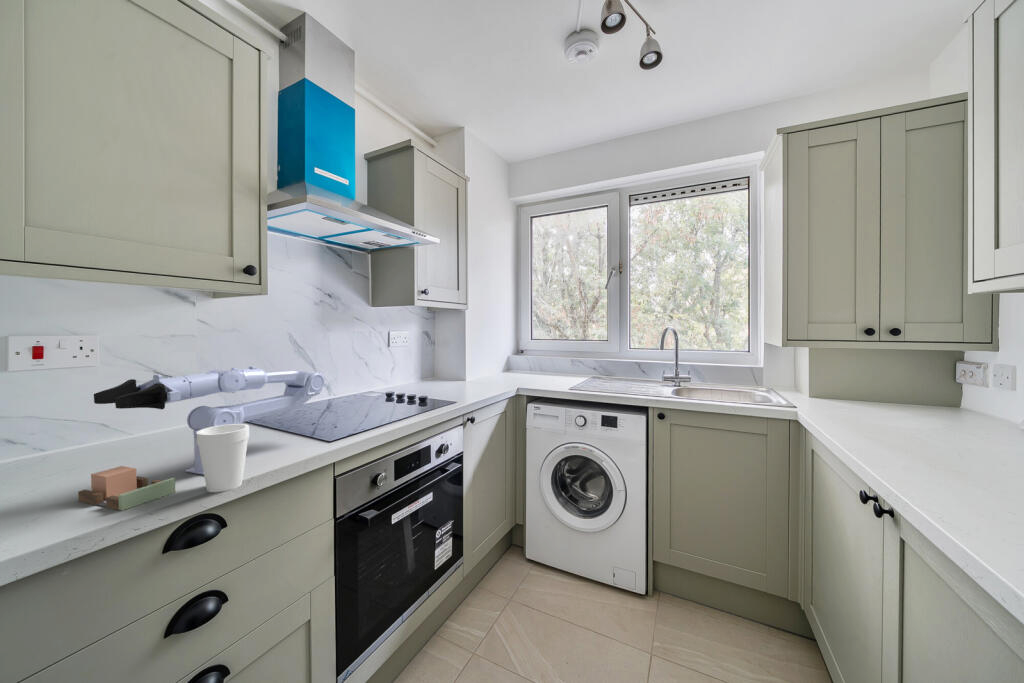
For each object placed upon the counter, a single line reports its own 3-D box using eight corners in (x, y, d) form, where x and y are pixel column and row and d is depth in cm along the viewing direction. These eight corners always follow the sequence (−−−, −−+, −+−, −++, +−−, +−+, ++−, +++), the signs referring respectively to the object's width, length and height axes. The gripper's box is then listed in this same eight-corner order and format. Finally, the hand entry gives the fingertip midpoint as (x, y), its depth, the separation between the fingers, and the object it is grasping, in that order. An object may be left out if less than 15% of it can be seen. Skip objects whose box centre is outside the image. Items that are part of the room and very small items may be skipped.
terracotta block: (122, 488, 84) (121, 466, 84) (136, 491, 83) (136, 468, 83) (91, 497, 80) (91, 474, 80) (106, 500, 78) (105, 476, 78)
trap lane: (133, 484, 86) (133, 471, 86) (175, 492, 82) (175, 478, 82) (78, 501, 78) (78, 486, 78) (122, 510, 74) (121, 495, 74)
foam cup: (259, 478, 90) (258, 423, 90) (231, 495, 81) (230, 434, 80) (218, 478, 90) (217, 424, 89) (186, 495, 80) (184, 434, 80)
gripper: (162, 368, 92) (84, 378, 79) (202, 374, 87) (124, 385, 74) (164, 397, 93) (87, 411, 80) (203, 404, 88) (127, 420, 75)
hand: (105, 401), depth 77 cm, fingers open, 7 cm apart
